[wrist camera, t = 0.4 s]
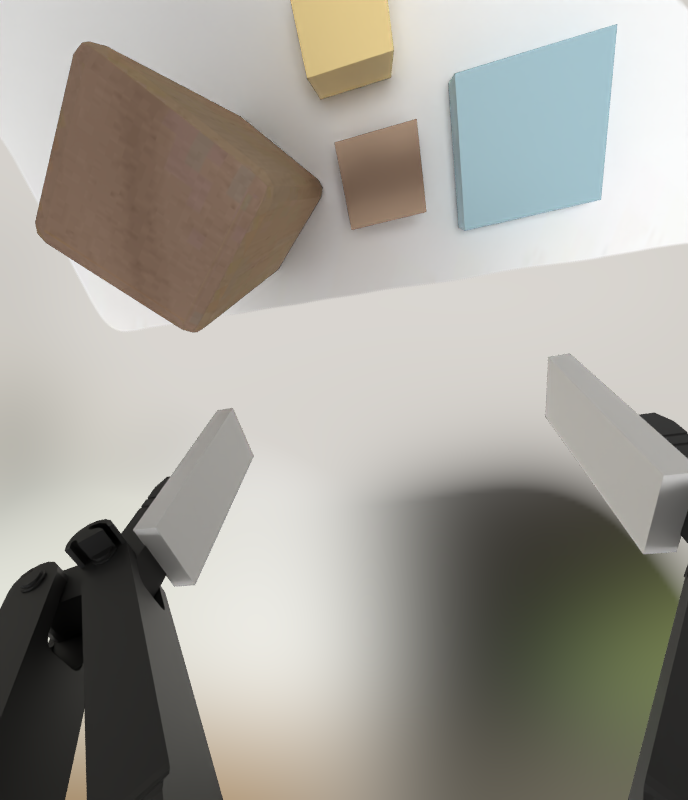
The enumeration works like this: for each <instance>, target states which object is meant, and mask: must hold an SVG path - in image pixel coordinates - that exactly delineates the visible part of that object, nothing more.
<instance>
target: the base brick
mask: <svg viewBox="0 0 688 800" xmlns="http://www.w3.org/2000/svg"><path fill="white" fill-rule="evenodd" d="M616 33H617V24H615V25H612V26H609V27H606V28H602V29H599V30H596V31H593V32H589V33H586V34H583V35H579V36H576V37H573V38H570V39H566V40H563V41H560V42H557V43H553V44H550V45H547V46H543V47H540V48H537V49H534V50H530V51H527V52H524V53H520V54H517V55H514V56H511V57H507V58H504V59H501V60H498V61H494V62H491V63H488V64H484V65H481V66H478V67H475V68H471V69H468V70H465V71H462V72H458V73H455V74H454V76H453V77H452V79H451V80H450V82H449V83H448V85H449V99H450V113H451V127H452V141H453V155H454V169H455V183H456V197H457V211H458V225H459V228H460V229H462V230H464V231H466V230H471V229H475V228H479V227H484V226H488V225H492V224H497V223H501V222H505V221H510V220H514V219H519V218H523V217H527V216H532V215H536V214H540V213H545V212H549V211H553V210H558V209H562V208H567V207H571V206H575V205H580V204H584V203H588V202H593V201H597V200H601V194H602V183H603V172H604V162H605V151H606V140H607V129H608V119H609V108H610V97H611V86H612V76H613V65H614V54H615V43H616Z"/></svg>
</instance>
